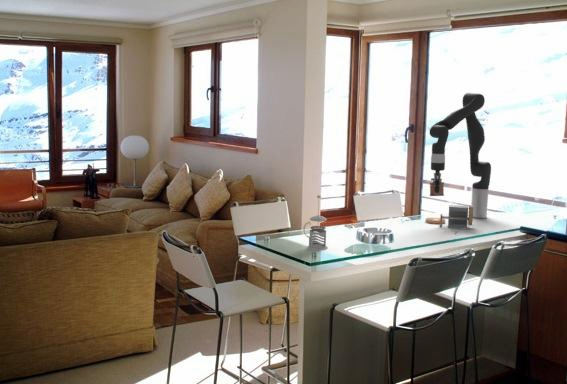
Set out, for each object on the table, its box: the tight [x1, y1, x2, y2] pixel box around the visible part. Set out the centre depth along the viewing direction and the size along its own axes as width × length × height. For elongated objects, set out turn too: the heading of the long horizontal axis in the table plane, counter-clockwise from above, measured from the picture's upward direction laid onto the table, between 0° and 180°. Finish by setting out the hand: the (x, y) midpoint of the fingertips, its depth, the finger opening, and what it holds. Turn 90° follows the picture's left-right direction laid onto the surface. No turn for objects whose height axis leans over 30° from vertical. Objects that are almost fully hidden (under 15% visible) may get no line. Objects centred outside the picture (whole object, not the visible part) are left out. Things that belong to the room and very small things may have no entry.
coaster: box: [424, 217, 446, 225], centre depth 380 cm, size 11×11×2 cm
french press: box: [303, 194, 329, 251], centre depth 310 cm, size 10×12×25 cm
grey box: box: [447, 204, 469, 230], centre depth 366 cm, size 7×10×12 cm, turn 77°
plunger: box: [439, 204, 474, 227], centre depth 366 cm, size 6×17×12 cm, turn 77°
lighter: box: [429, 177, 445, 197], centre depth 372 cm, size 8×3×10 cm, turn 100°
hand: (436, 191), depth 372 cm, fingers closed on lighter, 4 cm apart
